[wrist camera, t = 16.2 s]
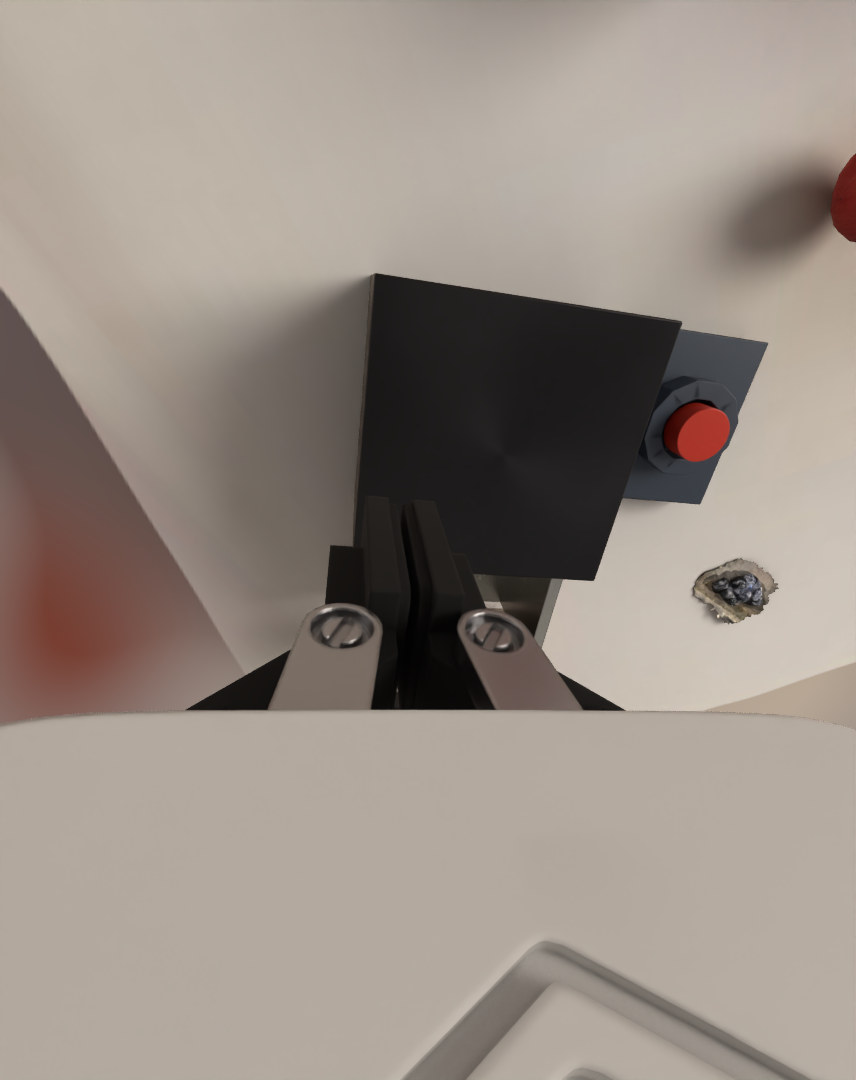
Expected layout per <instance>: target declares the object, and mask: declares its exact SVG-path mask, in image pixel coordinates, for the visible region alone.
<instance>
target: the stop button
mask: <svg viewBox="0 0 856 1080" xmlns="http://www.w3.org/2000/svg"><path fill="white" fill-rule="evenodd" d="M729 430H730V424H729V420H728V418H727V416H726V415H725V413H723V412H722V411H720V410H718V409H716V408H713V407H710V406H707V405H705V404H702V403H690V404H687V405H684V406H682V407H681V408H679V409H678V410H676V411H675V412H674V413H673V414H672V415H671V417H670V418H669V420H668V421H667V423H666V426H665V429H664V442H665V445H666V446H667V448H668V449H669V450H670V451H672V452H673V453H675V454H677V455H679V456H681V457H682V458H684V459H686V460H688V461H692V462H698V461H703V460H706V459H708V458H710V457H712V456H713V455H715V454H716V453H717V452H718V451H719V450H720V449H721V448H722V447H723V445H724V444H725V442H726V440H727V438H728V435H729Z"/></svg>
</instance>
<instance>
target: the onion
mask: <svg viewBox="0 0 856 1080" xmlns="http://www.w3.org/2000/svg"><path fill="white" fill-rule="evenodd" d="M830 211H831V216H832V221H833V225H834V226H835V228H836V229H837V231H838V232H839V233H841V234H842V235H843V236H844V237H845V238H846V239H848V240H849V241H852V242H856V154H855V155H854V156H853V157H851V159H850V160H849V162H848V163H847V164H846V166H845V167H844V169H843V170H842V172H841V173H840V174H839V177H838V180H837V182H836V185H835V188H834V191H833V194H832V202H831V210H830Z"/></svg>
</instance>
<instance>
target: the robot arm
mask: <svg viewBox="0 0 856 1080" xmlns="http://www.w3.org/2000/svg"><path fill="white" fill-rule="evenodd" d="M397 689H398V699H399V709H400V710H394V705H395V699H396V692H397ZM0 1080H856V730H855V729H852V728H849V727H846V726H842V725H838V724H834V723H829V722H824V721H819V720H815V719H810V718H804V717H795V716H786V715H778V714H759V713H735V712H698V711H626V710H624V709H622V708H620V707H619V706H617V705H615V704H613V703H612V702H610V701H608V700H606V699H605V698H603V697H601V696H599V695H598V694H596V693H594V692H593V691H591V690H589V689H587V688H586V687H584V686H582V685H580V684H579V683H577V682H575V681H573V680H572V679H570V678H568V677H566V676H565V675H563V674H561V673H559V672H558V671H556V669H555V668H554V666H553V665H552V663H551V662H550V660H549V659H548V657H547V656H546V655H545V653H544V652H543V650H542V649H541V647H540V646H539V644H538V643H537V641H536V640H535V638H534V637H533V636H532V634H531V633H530V631H529V630H528V629H527V627H526V626H525V625H524V624H523V623H522V622H521V621H519V620H518V619H516V618H515V617H513V616H511V615H509V614H506V613H504V612H501V611H497V610H492V609H486V607H485V604H484V601H483V599H482V596H481V593H480V591H479V588H478V585H477V583H476V580H475V577H474V575H473V572H472V569H471V567H470V564H469V561H468V559H467V556H466V555H465V554H461V553H451V550H450V547H449V544H448V541H447V537H446V534H445V531H444V528H443V525H442V522H441V519H440V516H439V513H438V510H437V507H436V504H435V502H434V501H425V500H412V501H411V504H410V505H403V506H402V511H401V519H400V521H399V515H398V509H397V504H390V503H389V499H388V497H376V496H365V504H364V514H363V525H362V536H361V547H349V546H332V545H331V546H330V555H329V566H328V577H327V588H326V599H325V605H323V606H321V607H318V608H316V609H314V610H313V611H311V612H310V613H309V614H307V615H306V617H305V618H304V620H303V621H302V624H301V626H300V629H299V631H298V634H297V636H296V639H295V641H294V644H293V646H292V649H291V650H289V651H287V652H286V653H284V654H282V655H280V656H279V657H277V658H275V659H273V660H272V661H270V662H268V663H266V664H265V665H263V666H261V667H259V668H258V669H256V670H254V671H252V672H251V673H249V674H247V675H245V676H244V677H242V678H241V679H239V680H237V681H235V682H233V683H232V684H230V685H228V686H226V687H225V688H223V689H221V690H219V691H218V692H216V693H214V694H212V695H211V696H209V697H207V698H205V699H204V700H202V701H200V702H198V703H197V704H195V705H193V706H191V707H190V708H188V709H186V710H173V711H172V710H171V711H137V712H107V713H106V712H105V713H82V714H70V715H60V716H49V717H38V718H32V719H26V720H20V721H15V722H9V723H2V724H0Z"/></svg>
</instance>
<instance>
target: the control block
mask: <svg viewBox="0 0 856 1080" xmlns="http://www.w3.org/2000/svg"><path fill="white" fill-rule="evenodd" d="M767 345H768V343H766V342H759V341H753V340H747V339H741V338H734V337H727V336H721V335H714V334H708V333H701V332H695V331H688V330H682V329H680V331H679V334H678V337H677V340H676V343H675V346H674V349H673V352H672V354H671V357H670V360H669V363H668V366H667V369H666V372H665V375H664V378H663V381H662V384H661V387H660V390H659V392H658V395H657V398H656V401H655V404H654V407H653V410H652V413H651V416H650V419H649V422H648V425H647V427H646V430H645V433H644V436H643V439H642V442H641V445H640V448H639V451H638V454H637V457H636V460H635V462H634V465H633V468H632V471H631V474H630V477H629V480H628V483H627V486H626V489H625V492H624V495H623V497H622V498H633V499H644V500H655V501H667V502H678V503H689V504H701V501H702V499H703V497H704V494H705V492H706V489H707V487H708V485H709V482H710V480H711V478H712V475H713V473H714V471H715V468H716V466H717V463H718V461H719V459H720V456H721V454H722V452H723V451H724V450H725V449H726V448H727V447H728V445H729V443H730V441H731V438H732V436H733V434H734V431H735V429H736V427H737V424H738V414H739V411H740V409H741V407H742V404H743V402H744V400H745V397H746V395H747V393H748V390H749V388H750V385H751V383H752V381H753V378H754V376H755V374H756V371H757V369H758V367H759V364H760V362H761V359H762V357H763V355H764V352H765V350H766V348H767ZM690 403H702V404H705V405H707V406H710V407H713V408H716V409H718V410H720V411H722V412H723V413H725V415H726V416H727V418H728V420H729V424H730V430H729V435H728V438H727V440H726V442H725V444H724V445H723V447H722V448H721V449H720V450H719V451H718V452H717V453H716V454H715V455H713V456H712V457H710V458H708V459H706V460H703V461H698V462H692V461H688V460H686V459H684V458H682V457H681V456H679V455H677V454H675V453H673V452H672V451H670V450H669V449H668V448H667V446H666V445H665V442H664V429H665V426H666V423H667V421H668V420H669V418H670V417H671V415H672V414H673V413H674V412H675V411H676V410H678V409H679V408H681V407H682V406H684V405H687V404H690Z"/></svg>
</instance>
